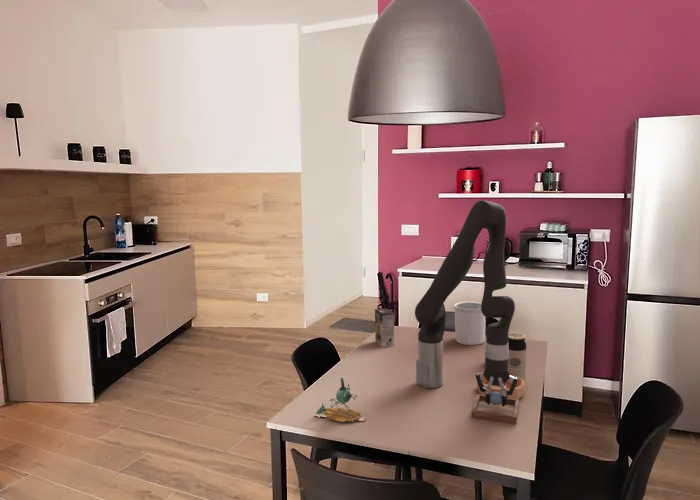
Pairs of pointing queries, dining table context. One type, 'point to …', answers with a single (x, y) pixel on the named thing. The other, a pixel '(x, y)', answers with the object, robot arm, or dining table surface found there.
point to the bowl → (517, 391)
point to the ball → (496, 398)
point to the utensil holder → (469, 323)
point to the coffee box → (384, 327)
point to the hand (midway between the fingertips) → (496, 404)
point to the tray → (495, 410)
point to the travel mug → (517, 354)
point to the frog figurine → (341, 413)
